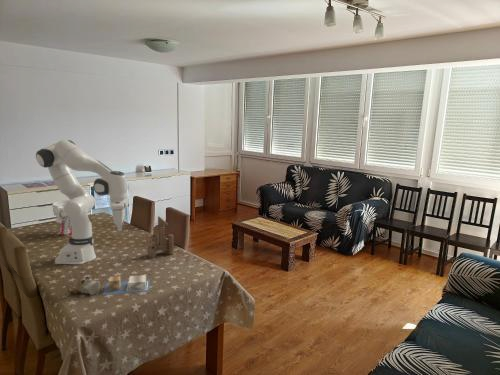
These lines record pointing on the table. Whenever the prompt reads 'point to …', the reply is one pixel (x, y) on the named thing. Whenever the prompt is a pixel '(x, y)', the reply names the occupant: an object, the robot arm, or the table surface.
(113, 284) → the oak cube
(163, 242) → the wooden toy
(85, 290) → the ceramic sculpture
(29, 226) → the table surface
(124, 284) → the board
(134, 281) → the base block
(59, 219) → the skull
